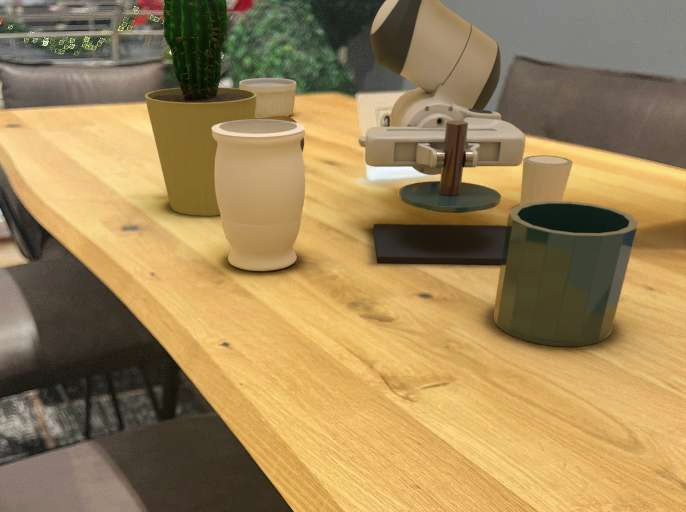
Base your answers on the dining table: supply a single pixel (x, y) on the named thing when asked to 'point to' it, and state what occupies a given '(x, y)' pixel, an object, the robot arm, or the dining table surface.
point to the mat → (439, 243)
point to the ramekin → (271, 95)
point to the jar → (260, 190)
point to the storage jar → (563, 272)
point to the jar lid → (451, 181)
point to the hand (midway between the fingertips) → (455, 160)
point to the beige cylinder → (544, 178)
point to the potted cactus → (194, 104)
